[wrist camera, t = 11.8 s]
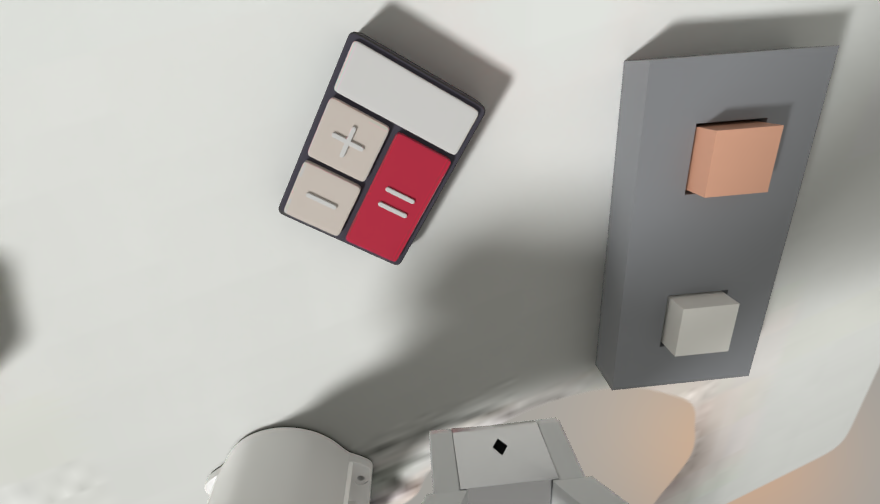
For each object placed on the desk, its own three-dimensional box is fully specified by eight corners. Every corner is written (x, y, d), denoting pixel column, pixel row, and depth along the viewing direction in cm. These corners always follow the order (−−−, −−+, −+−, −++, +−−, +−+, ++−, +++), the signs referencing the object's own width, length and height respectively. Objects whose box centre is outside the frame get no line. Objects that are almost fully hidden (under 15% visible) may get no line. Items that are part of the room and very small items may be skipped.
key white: (700, 326, 43) (728, 351, 39) (651, 331, 42) (674, 356, 39) (709, 282, 41) (739, 303, 37) (658, 287, 40) (683, 309, 37)
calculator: (273, 216, 34) (349, 28, 28) (288, 198, 38) (357, 30, 32) (398, 271, 36) (489, 110, 31) (400, 249, 40) (481, 102, 35)
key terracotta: (731, 179, 37) (767, 192, 33) (674, 184, 36) (704, 197, 33) (744, 119, 35) (783, 125, 31) (683, 124, 34) (716, 130, 31)
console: (721, 351, 47) (748, 375, 43) (595, 364, 46) (611, 390, 42) (793, 47, 35) (839, 45, 31) (624, 61, 34) (650, 60, 30)
